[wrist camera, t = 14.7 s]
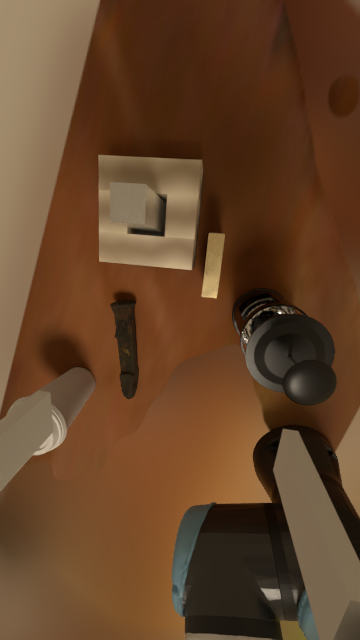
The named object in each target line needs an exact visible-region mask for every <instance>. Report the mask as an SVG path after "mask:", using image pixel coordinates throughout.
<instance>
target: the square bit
mask: <svg viewBox="0 0 360 640" xmlns="http://www.w3.org/2000/svg"><path fill="white" fill-rule="evenodd" d="M166 208H167V204H166V203H165V202H164V201H163V200H162V199H161V198H160V197H159V196H158V195H157V194H156V193H155V192H154V191H153V190H152V189H151V188H150V187H149V186H148V185H147V184H136V183H120V182H110V222H112V223H116V224H119V225H123V226H126V227H130V228H133V229H136V230H140V231H151V232H163V233H165V223H166Z"/></svg>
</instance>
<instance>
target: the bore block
mask: <svg viewBox="0 0 360 640" xmlns="http://www.w3.org/2000/svg"><path fill="white" fill-rule="evenodd" d="M98 159H99V261H102V262H113V263H123V264H134V265H144V266H155V267H165V268H175V269H186V270H192V269H193V268H195V258H196V247H197V237H198V227H199V217H200V207H201V197H202V187H203V176H204V172H203V164H202V160H191V159H171V158H151V157H130V156H110V155H98ZM110 182H120V183H136V184H147V185H148V186H149V187H150V188H151V189H152V190H153V191H154V192H155V193H156V194H157V195H158V196H159V197H160V198H161V199H162V200H163V201H164V202H165V203H166V204H167V208H166V223H165V233H163V232H151V231H140V230H136V229H133V228H130V227H126V226H123V225H119V224H116V223H112V222H110Z"/></svg>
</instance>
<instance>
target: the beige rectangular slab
mask: <svg viewBox="0 0 360 640" xmlns="http://www.w3.org/2000/svg"><path fill="white" fill-rule="evenodd" d="M224 239H225V234H220V233H209V235H208V244H207V253H206V262H205V272H204V281H203V290H202V297H210V298H217V294H218V286H219V278H220V270H221V262H222V255H223V247H224Z"/></svg>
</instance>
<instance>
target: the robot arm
mask: <svg viewBox="0 0 360 640" xmlns="http://www.w3.org/2000/svg"><path fill="white" fill-rule="evenodd" d="M52 433H53V421H52V407H51V393H50V392H45V391H37V392H36V393H34V394H33V395H32V396H31V397H29V398H28V399H27V400H26V401H24V402H23V403H22V404H21V405H19V406H18V407H17V408H15V409H14V410H13V411H12V412H10V413H9V414H8V415H7V416H5V417H4V418H3V419H2V420H0V491H1V490H2V489H3V488H4V487H5V485H6V484H7V483H8V482H9V481H10V480H11V479H12V478H13V477H14V475H15V474H16V473H17V472H18V471H19V470H20V469H21V467H22V466H23V465H24V464H25V463H26V462H27V461H28V460H29V459H30V457H31V456H32V455H33V454H34V453H35V452H36V451H37V450H38V448H39V447H40V446H41V445H42V444H43V443H44V442H45V441H46V439H47V438H48V437H49V436H50V435H51V434H52ZM253 462H254V467H255V471H256V474H257V477H258V478H259V480H260V482H261V483H262V485H263V487H264V489H265V490H266V492H267V494H268V495H269V497H270V499H271V501H272V503H241V504H216V503H211V504H207V505H196V506H192V507H190V508H189V509H188V510H187V511H186V512H185V514H184V516H183V518H182V520H181V523H180V526H179V529H178V533H177V539H176V543H175V550H174V557H173V568H172V582H173V587H172V600H173V605H174V609H175V611H176V612H177V613H178V614H180V616H181V617H185V639H186V640H283V638H282V632H281V626H280V620H288V621H298V622H299V626H300V628H301V630H302V631H303V633H304V635H305V637H306V639H307V640H360V518H359V516H358V514H357V512H356V510H355V509H354V507H353V505H352V503H351V501H350V500H349V498H348V496H347V494H346V493H345V491H344V489H343V487H342V480H341V474H340V469H339V463H338V459H337V456H336V454H335V452H334V450H333V449H332V447H331V445H330V444H329V442H328V441H327V440H326V439H325V438H324V437H323V436H322V435H321V434H319V433H318V432H316V431H314V430H312V429H309V428H306V427H301V426H285V427H280V428H277V429H274V430H272V431H270V432H268V433H267V434H265V435H264V436H263V437H262V438H261V439H260V440H259V441H258V442H257V444H256V446H255V448H254V452H253Z"/></svg>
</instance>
